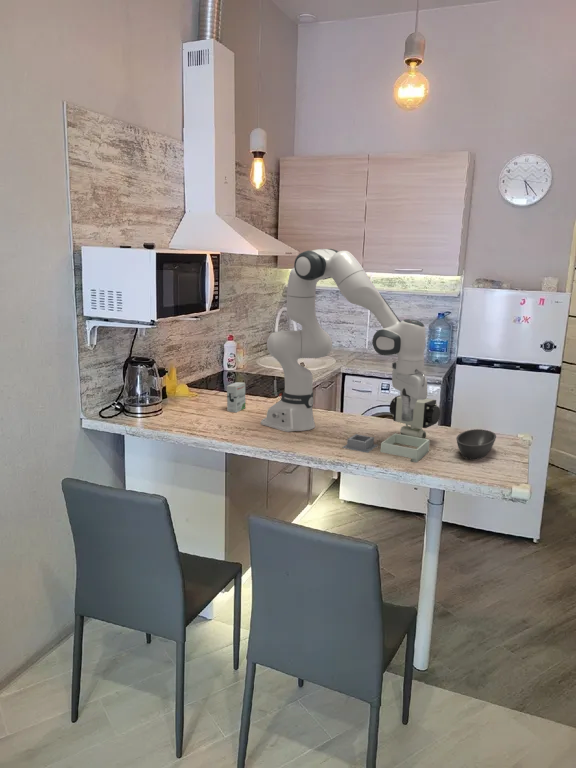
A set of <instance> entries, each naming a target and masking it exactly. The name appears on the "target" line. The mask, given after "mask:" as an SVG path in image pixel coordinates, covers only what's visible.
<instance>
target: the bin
mask: <svg viewBox="0 0 576 768" xmlns="http://www.w3.org/2000/svg"><path fill="white" fill-rule="evenodd" d="M397 444H398V445H397ZM399 444H401V445H406V446H401V445H399ZM407 446H410V447H407ZM412 447H413V448H412ZM414 447H416V448H414ZM429 451H430V439H427V438H425V439H423V438H417V437H412V436H406V435H401V434H400V433H393V434H392V435H390V436H388V437H387V438H386V439H384V440H383V441H382V442H381V443H380V453H383V454H389V455H395V456H399V457H404V458H409V459H410V460H409V462H412V463H418V462H419V461H420V460H421V459H422V458H424V457H425V456H426V455H427V454H428V453H429Z"/></svg>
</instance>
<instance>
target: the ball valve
mask: <svg viewBox="0 0 576 768" xmlns="http://www.w3.org/2000/svg"><path fill="white" fill-rule="evenodd" d="M401 401H402V399H401V395H400V394H399V395H397V396H394V398H393V399H391V401H390V404H389V412H390V414H391V415H392V417H393V418H392V419H393V420H392V421H393V422H397V423H400V424H404V425H403V426H401V428H400V431H399V434H401V435H406V436H412V437H417V438H423V439H427V438H426V436H427V432H426V431H425V430H424V429H427V428H429V427H432V426H434V425H436V424H437V423H438V422H439V420H440V418H441V407H439V406H438V405H437V400H436V399H432V398H426V399H424V400H417V402H416V404H415V408H414V411H413V421H402V420H401V416H402V403H401Z"/></svg>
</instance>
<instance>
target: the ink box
mask: <svg viewBox="0 0 576 768" xmlns="http://www.w3.org/2000/svg"><path fill="white" fill-rule="evenodd" d="M226 395H227V396H226V398H227V399H226V402H227V403H226V406H227V408H226V409H227V412H229V413H230V412H231V413H235V414H236V413H238V412H240V411H243V410H245V409H246V383H245V382H240V381H239V382H236V381H235V382H233V383H230V384H228V385H227V386H226Z"/></svg>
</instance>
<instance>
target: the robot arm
mask: <svg viewBox="0 0 576 768" xmlns="http://www.w3.org/2000/svg"><path fill="white" fill-rule="evenodd" d="M328 279H332V280H333V281H334V283H335V284H336V286H337V288H338V290H339V291H340V293H341V295H342V296H343V297H344V298H345V299H346V301H347V302H349V303H351V304H353V305H355V306H359V307H362V308H365V309H366V310H368V311H369V312H371V314H373V316H374V317H375V318H376V320H377V321H378V323H379V324H380V325H381V326H382V328H380V329H379V330H377V331H376V332H375V333H374V335H373V336H372V341H371V342H372V347H373V349H374V351H375V352H376V353H377V354H379V355H381V356H384V357H386V356H392V355H396V356H397V360H395V361H393V362H392V363H391V369H392V374H391V384H392V388H394V389H395V390H398V391H399V392H400V393H399V395H401V399H402V400H403V394H402V390H403V388H405V390H406V394H407V395H409V396H410V399H411V400H410V403H409V406H408V407H409V408H410V409H414V408H415V404H416V402H417V400H424V399H426V398H427V397H428V380H427V377H426V376H425V373H424V368H425V356H424V353H425V349H426V341H427V340H426V335H427V334H426V327H425V325H424V323H422V322H421V321H419V320H416V319H410V318H409V319H407V318H404V319H403V320H400V319H399V317H398V315H396V313H395V312H394V310H393V308H391V306H390V305H389V303H388V301H386V299H385V297H384V296H383V295H382V294H381V293H380V292H379V290H378V288H377V287H376V286H375V285H374V283H373V282H372V280H371V278H370V277H369V275H368V274H367V272H366V271H365V269H364V268H363V266H362V265H361V263H360V262H359V261H358V259H357V258H356V257H355V256H354V255H353V254H352V253H351V252H350V251H349V250H339V251H338V250H336V249H334V248H333V249H332V248H318V249H317V248H316V249H313V250H305V251H303V252H300V253H299V254H297V256H296V257H295V260H294V266H293V268H292V269H291V270H290V272H289V277H288V280H287V287H286V288H287V289H286V315H287V317H288V319H290V320H292V321H293V322H295V323H297V324H299V325H300V326H301V329H300V330H279V331H273V332H272V333H270V335H269V336H268V338H267V340H266V341H267V342H266V349H267V352H268V354H269V355H270V356H271V357H272V358H274V359H275V360H276V361H277V362H278V363H279V364H280V367H281V369H282V371H283V377H284V391H282V392H280V393H279V394H278V395H279V396H278V397H281V398H280V399H279V400H278V401H277V402H275V403H274V404H273V405H271V406H270V407H269V408H268V410H267V411H266V417H265V418H263V419H262V420H261V421H260V425H262V426H266V427H270V428H273V429H276V430H279V431H283V432H286V433H287V432H289V433H290V432H300V431H301V432H303V431H310V430H313V429H315V427H316V423H315V419H314V411H313V406H314V392H313V381H314V379H313V377H314V376H313V373H312V372H311V370H310V369H308V368H307V367H305V366H303V365H301V364H299V362H298V360H300V359H319V358H325V357H328V355H330V353H331V351H332V349H333V340H332V338H331V336H330V335H329V333H328V332H327V331H326V330H324V329H323V328H322V327H321V324H319V322H318V318H317V315H316V314H317V313H316V312H317V311H316V294H317V293H316V292H317V291H316V289H317V284H318V282H319V281H321V280H323V281H324V280H328ZM401 403H402V401H401Z"/></svg>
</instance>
